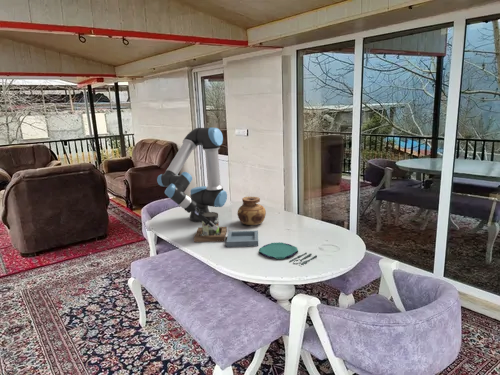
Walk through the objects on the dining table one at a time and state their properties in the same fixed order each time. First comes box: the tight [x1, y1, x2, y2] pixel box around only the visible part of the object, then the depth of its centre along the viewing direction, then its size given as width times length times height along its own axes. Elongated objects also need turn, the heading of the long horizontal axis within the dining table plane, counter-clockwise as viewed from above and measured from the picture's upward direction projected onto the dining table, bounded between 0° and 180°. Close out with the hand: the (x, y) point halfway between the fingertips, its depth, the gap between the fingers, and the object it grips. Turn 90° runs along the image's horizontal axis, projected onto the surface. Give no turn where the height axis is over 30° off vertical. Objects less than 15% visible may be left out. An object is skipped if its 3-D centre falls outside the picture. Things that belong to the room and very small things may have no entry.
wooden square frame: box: [193, 226, 228, 243], centre depth 227 cm, size 18×18×3 cm
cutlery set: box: [258, 242, 318, 266], centre depth 196 cm, size 20×30×2 cm, turn 45°
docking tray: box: [226, 230, 259, 248], centre depth 218 cm, size 18×18×3 cm
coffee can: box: [201, 211, 220, 236], centre depth 226 cm, size 10×10×14 cm
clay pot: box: [237, 196, 267, 226], centre depth 247 cm, size 19×19×20 cm
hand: (215, 226), depth 227 cm, fingers closed on coffee can, 10 cm apart
